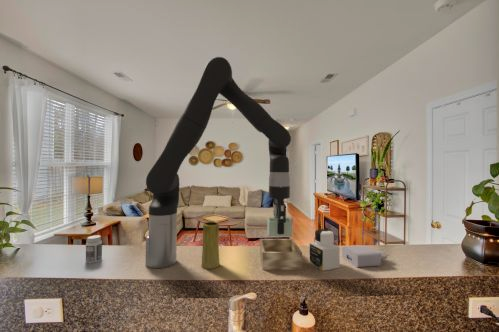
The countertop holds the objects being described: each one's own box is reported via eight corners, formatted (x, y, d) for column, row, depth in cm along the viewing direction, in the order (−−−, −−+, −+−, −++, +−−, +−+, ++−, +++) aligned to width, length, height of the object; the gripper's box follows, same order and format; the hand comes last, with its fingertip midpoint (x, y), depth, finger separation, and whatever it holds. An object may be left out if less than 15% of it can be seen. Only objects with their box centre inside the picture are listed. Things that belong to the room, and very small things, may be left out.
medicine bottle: (309, 262, 79) (309, 228, 79) (325, 260, 81) (325, 227, 82) (322, 271, 72) (322, 234, 72) (340, 268, 75) (340, 232, 75)
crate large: (262, 269, 73) (262, 252, 73) (259, 252, 88) (259, 238, 88) (302, 269, 73) (302, 252, 73) (292, 253, 88) (292, 239, 88)
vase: (215, 270, 72) (216, 226, 73) (198, 268, 74) (198, 224, 74) (221, 262, 78) (222, 221, 79) (205, 261, 80) (206, 220, 80)
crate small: (269, 236, 78) (269, 221, 78) (267, 231, 84) (267, 218, 84) (291, 236, 78) (292, 221, 78) (288, 231, 84) (288, 218, 84)
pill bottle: (99, 256, 83) (99, 234, 83) (103, 260, 80) (104, 236, 80) (83, 260, 79) (84, 236, 79) (87, 264, 76) (88, 239, 76)
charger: (396, 266, 77) (357, 268, 75) (377, 255, 86) (341, 258, 84) (396, 252, 77) (357, 254, 75) (377, 243, 86) (341, 245, 84)
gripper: (267, 183, 88) (266, 226, 88) (271, 186, 74) (271, 237, 73) (286, 183, 88) (286, 226, 88) (293, 186, 74) (293, 237, 74)
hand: (279, 231), depth 81 cm, fingers closed on crate small, 6 cm apart
